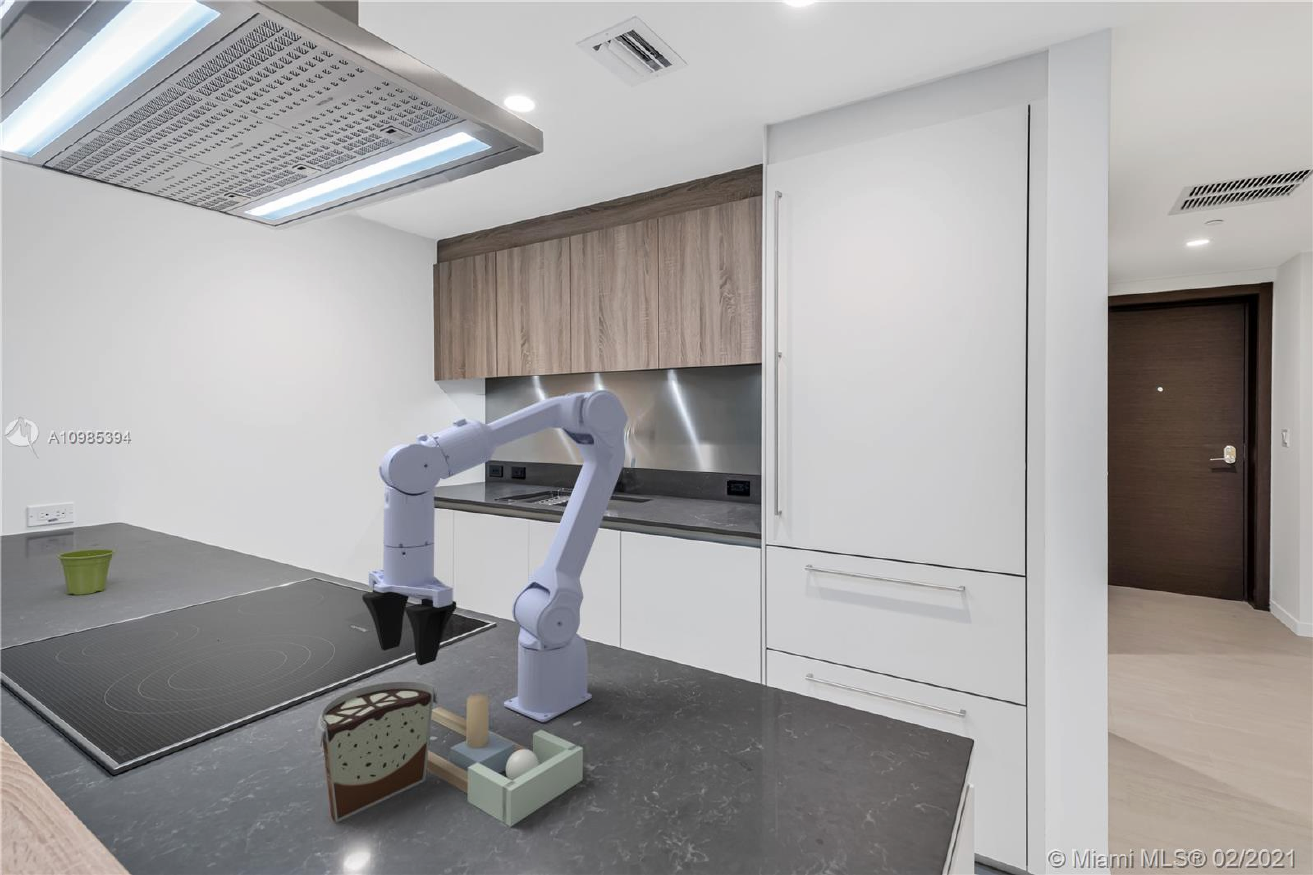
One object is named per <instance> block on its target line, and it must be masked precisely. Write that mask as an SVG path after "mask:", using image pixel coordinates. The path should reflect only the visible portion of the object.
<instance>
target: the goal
mask: <svg viewBox="0 0 1313 875" xmlns="http://www.w3.org/2000/svg"><path fill="white" fill-rule="evenodd" d="M532 752H533V753H534V754H535V755H536V756H537V758H538V762H539V766H537V767H535V768H533V769H532V770H530V771H528V772H526V773H525V774H523V775H521V776H520V777H518V778H516V779H514V780H513V781H512V780H510V779H508V778H507V776H504V775H503V774H501V773H499V774H498V773H497V772H495V771H493V770H491V769H489V768H487V767H485V766H483V765H481V764H480V763H478V762H477V763H476V764H474V765H472V766H470V767H468V794H467V802H468V803H469V804H471V805H473V806H475V807H476V808H478V809H480V810H482V811H483V812H484V813H486V814H488V815H489V816H491V817H493V818H495V819H496V820H498V821H499V822H501V823H503V824H505V825H506V826H508V827H510V828H511V827H513V826H514V825H516V824H518V823H519V822H520V821H522V820H523V819H525V818H526V817H528V816H529V815H532V814H533V813H534V812H535V811H537V810H539V809H540V808H541V807H544V806H545V805H547V804H548V803H550V802H551V801H553V800H554V799H556V798H557V797H559V796H560V795H562V794H563V793H565V792H566V791H568V790H570V789H571V788H573V787H574V786H576V785H577V784H579V783H580V782H581V781H583V770H584V769H583V768H584V765H583V763H584V760H583V758H584V756H583V755H584V748H583V747H581V746H579V745H577V744H575V743H572V742H570V741H567V740H565V739H563V738H561V737H558V736H556V735H554V734H551V733H550V732H548V731H545V730H542V729H539V730H538V731H535V732H534V733H532Z"/></svg>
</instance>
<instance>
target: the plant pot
mask: <svg viewBox="0 0 1313 875" xmlns="http://www.w3.org/2000/svg"><path fill="white" fill-rule="evenodd" d="M115 552H116V551H115V549H108V548H107V549H106V548H99V549H97V548H96V549H83V550H82V549H81V550H74V551H68V552H63V553H60V554H58V555H57V558H58V559H59V560H60V564H62V568H63V573H64V579H65V585H66V592H67V595H75V596H76V595H78V596H79V595H80V596H81V595H91V594H94V593H96V592H102V591H104V590H105V589H106V584H107V578H108V572H109V569H110V568H109V567H110V563H111V560H112V558H113V554H115Z"/></svg>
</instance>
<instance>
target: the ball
mask: <svg viewBox="0 0 1313 875" xmlns="http://www.w3.org/2000/svg"><path fill="white" fill-rule="evenodd" d="M530 750H531V749H529V750H526V749H522V750H518V751H516V752H514V753H513V754H512V755H511V756H510V758H509V759H508V761H507V764H506V770H505V775H506V778H508V779H510V780H512V781H513V780H514V779H516V778H518V777H520V776H521V775H523V774H525V773H526V772H528V771H530V770H532V769H533V768H535V767H537V766H539V762H538V758H537V756H536V755H535V754H534V753H533V750H531V751H530Z"/></svg>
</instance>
